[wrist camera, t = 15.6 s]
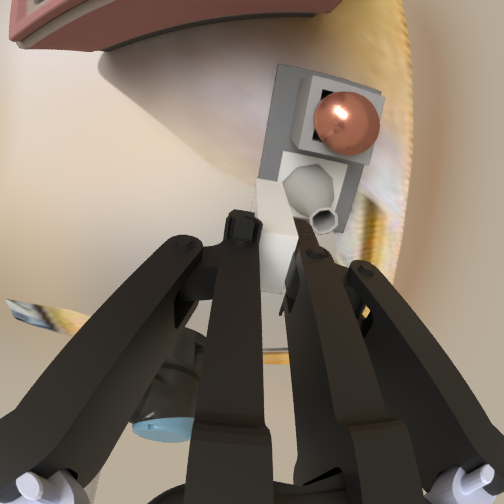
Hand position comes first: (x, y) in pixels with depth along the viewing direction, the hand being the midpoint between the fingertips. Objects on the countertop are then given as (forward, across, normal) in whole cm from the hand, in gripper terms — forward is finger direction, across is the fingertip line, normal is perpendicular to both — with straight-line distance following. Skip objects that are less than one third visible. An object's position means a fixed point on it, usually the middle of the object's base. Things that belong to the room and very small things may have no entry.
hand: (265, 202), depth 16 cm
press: (+23, -8, 0) cm, 24 cm away
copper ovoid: (+19, -8, -6) cm, 21 cm away
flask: (+21, -8, +5) cm, 23 cm away
